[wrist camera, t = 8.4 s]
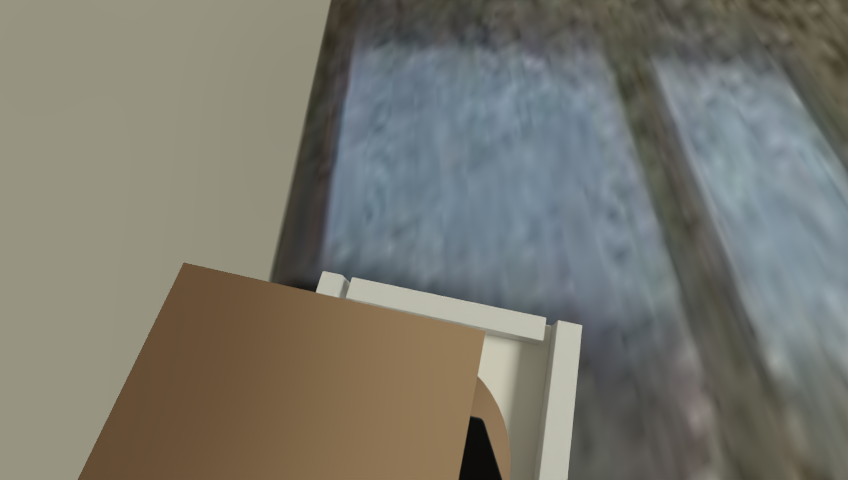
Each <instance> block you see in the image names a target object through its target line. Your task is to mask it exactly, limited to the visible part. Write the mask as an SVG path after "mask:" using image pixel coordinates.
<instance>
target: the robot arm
mask: <svg viewBox="0 0 848 480" xmlns="http://www.w3.org/2000/svg"><path fill="white" fill-rule="evenodd" d="M458 480H502V477H501V473H500V470H499V467H498V464H497V461H496V457H495V454H494V451H493V448H492V445H491V442H490V438H489V435H488V432H487V429H486V426H485V423H484V421H483V419H482V418H479V417H475V416H471V415H470V420H469V425H468V430H467V436H466V441H465V447H464V452H463V458H462V463H461V468H460V474H459V479H458Z"/></svg>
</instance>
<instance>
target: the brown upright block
mask: <svg viewBox="0 0 848 480" xmlns="http://www.w3.org/2000/svg"><path fill="white" fill-rule="evenodd" d="M485 333H486V331H484V330H479V329H475V328H471V327H466V326H462V325H457V324H453V323H448V322H444V321H440V320H435V319H431V318H426V317H422V316H417V315H413V314H409V313H404V312H400V311H395V310H391V309H386V308H382V307H378V306H373V305H369V304H364V303H360V302H355V301H351V300H347V299H342V298H338V297H333V296H329V295H324V294H320V293H316V292H311V291H307V290H302V289H298V288H293V287H289V286H285V285H280V284H276V283H271V282H267V281H262V280H258V279H254V278H249V277H245V276H240V275H236V274H232V273H227V272H223V271H218V270H213V269H209V268H205V267H200V266H196V265H192V264H187V263H183V265H182V268H181V270H180V272H179V274H178V276H177V278H176V280H175V282H174V284H173V286H172V288H171V290H170V292H169V294H168V296H167V298H166V300H165V302H164V304H163V306H162V309H161V310H160V312H159V315H158V317H157V319H156V321H155V323H154V325H153V327H152V329H151V331H150V333H149V335H148V337H147V339H146V341H145V343H144V345H143V347H142V349H141V352H140V353H139V355H138V358H137V360H136V362H135V364H134V366H133V368H132V370H131V372H130V374H129V376H128V378H127V380H126V382H125V384H124V386H123V388H122V390H121V393H120V394H119V396H118V398H117V400H116V403H115V405H114V407H113V409H112V411H111V413H110V415H109V417H108V419H107V421H106V423H105V425H104V427H103V429H102V431H101V433H100V435H99V437H98V439H97V441H96V443H95V446H94V448H93V450H92V452H91V454H90V456H89V458H88V460H87V462H86V464H85V466H84V468H83V470H82V472H81V474H80V476H79V478H78V480H458V479H459V474H460V468H461V463H462V458H463V452H464V447H465V441H466V436H467V430H468V425H469V420H470V415H471V416H475V417H479V418H482V419H483V421H484V423H485V426H486V429H487V432H488V435H489V438H490V442H491V445H492V448H493V451H494V454H495V457H496V461H497V464H498V467H499V470H500V473H501V477H502V480H510V469H511V458H510V445H509V438H508V433H507V429H506V426H505V422H504V419H503V416H502V414H501V411H500V409H499V407H498V405H497V403H496V401H495V399H494V397H493V395H492V394H491V392H490V391H489V389H488V388H487V387H486V385H485V384H484V382H483V381H482V380H481V379H480V378H479V377H478V371H479V365H480V360H481V354H482V349H483V344H484V338H485Z"/></svg>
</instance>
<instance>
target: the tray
mask: <svg viewBox="0 0 848 480" xmlns="http://www.w3.org/2000/svg"><path fill="white" fill-rule="evenodd" d="M316 293H320V294H324V295H329V296H333V297H338V298H342V299H347V300H351V301H355V302H360V303H364V304H369V305H373V306H378V307H382V308H386V309H391V310H395V311H400V312H404V313H409V314H413V315H417V316H422V317H426V318H431V319H435V320H440V321H444V322H448V323H453V324H457V325H462V326H466V327H471V328H475V329H479V330H484V331H486V333H485V338H484V344H483V349H482V354H481V360H480V365H479V371H478V377H479V378H480V379H481V380H482V381H483V382H484V384H485V385H486V387H487V388H488V389H489V391H490V392H491V394H492V395H493V397H494V399H495V401H496V403H497V405H498V407H499V409H500V411H501V414H502V416H503V419H504V422H505V426H506V429H507V433H508V438H509V445H510V458H511V469H510V480H567V477H568V466H569V456H570V446H571V435H572V425H573V415H574V404H575V394H576V383H577V373H578V363H579V352H580V342H581V332H582V325H578V324H573V323H568V322H563V321H559V320H558V321H557V322H556V323H555V324H554V325H552V326H549V325H545V324H546V318H544V317H540V316H535V315H530V314H525V313H520V312H516V311H511V310H506V309H501V308H497V307H492V306H487V305H482V304H478V303H473V302H468V301H463V300H458V299H454V298H449V297H444V296H439V295H435V294H430V293H425V292H420V291H416V290H411V289H406V288H401V287H396V286H392V285H387V284H382V283H377V282H373V281H368V280H363V279H358V278H354V277H352V279H351V283H349V281H348V280H347V279H346V278H345V277H344V276H343V275H339V274H334V273H330V272H325V271H323V272H322V275H321V278H320V281H319V284H318V287H317V290H316Z"/></svg>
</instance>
